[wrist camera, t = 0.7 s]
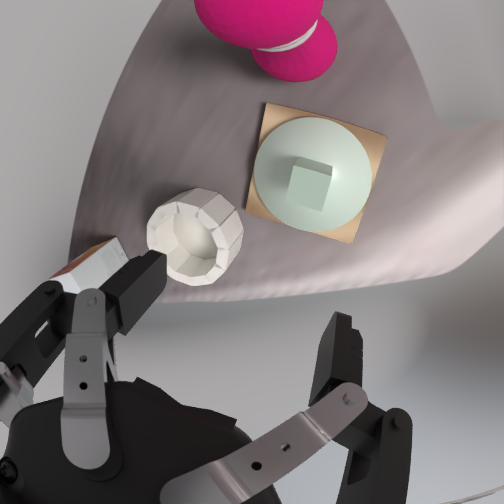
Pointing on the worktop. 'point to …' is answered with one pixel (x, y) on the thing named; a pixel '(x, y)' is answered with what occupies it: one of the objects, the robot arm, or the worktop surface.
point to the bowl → (196, 235)
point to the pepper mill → (275, 34)
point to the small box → (92, 267)
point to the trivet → (367, 138)
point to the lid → (313, 174)
